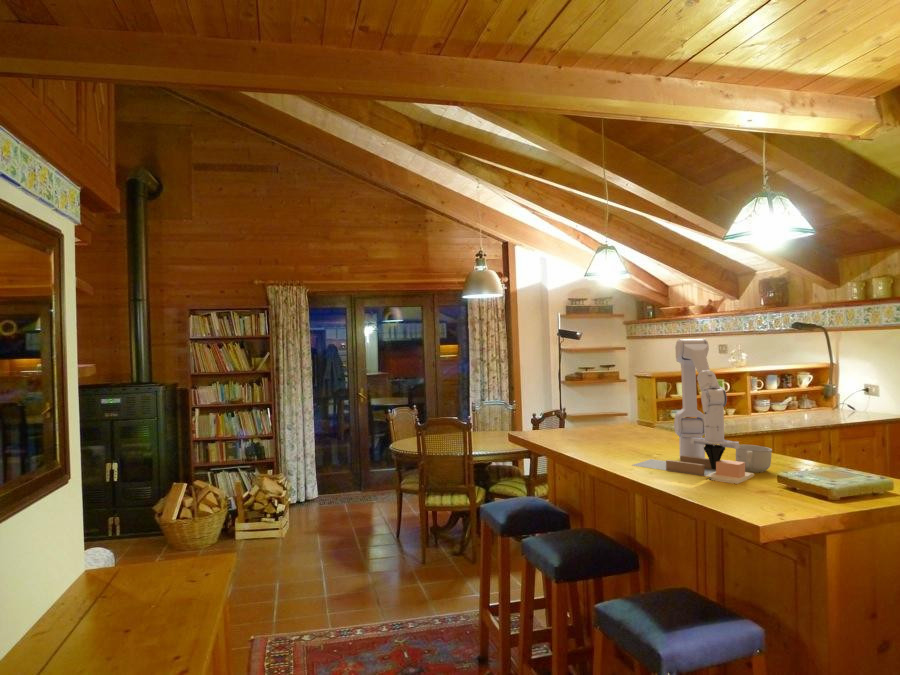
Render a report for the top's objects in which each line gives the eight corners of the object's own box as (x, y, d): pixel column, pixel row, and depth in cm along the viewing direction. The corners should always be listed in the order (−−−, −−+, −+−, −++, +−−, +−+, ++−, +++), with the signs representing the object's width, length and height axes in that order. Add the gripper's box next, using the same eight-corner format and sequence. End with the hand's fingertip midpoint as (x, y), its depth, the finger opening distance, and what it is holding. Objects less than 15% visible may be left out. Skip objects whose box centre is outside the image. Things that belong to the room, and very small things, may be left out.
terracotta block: (722, 471, 198) (722, 459, 198) (745, 475, 193) (744, 462, 193) (716, 474, 195) (715, 461, 195) (739, 477, 190) (738, 464, 190)
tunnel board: (650, 462, 221) (650, 450, 221) (754, 476, 196) (753, 463, 196) (631, 468, 211) (631, 456, 211) (737, 484, 186) (737, 470, 186)
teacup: (743, 466, 212) (742, 442, 212) (777, 470, 204) (776, 446, 204) (726, 472, 202) (726, 448, 202) (762, 477, 194) (761, 452, 194)
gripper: (686, 425, 200) (687, 467, 200) (732, 429, 190) (733, 473, 190) (695, 423, 205) (696, 464, 205) (741, 427, 195) (742, 470, 195)
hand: (714, 468), depth 198 cm, fingers closed
